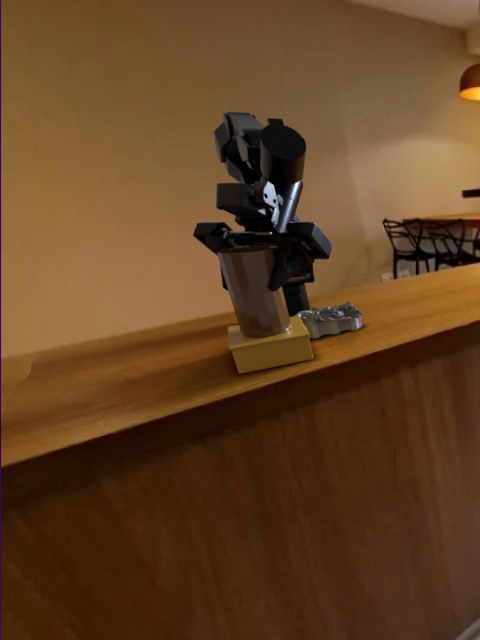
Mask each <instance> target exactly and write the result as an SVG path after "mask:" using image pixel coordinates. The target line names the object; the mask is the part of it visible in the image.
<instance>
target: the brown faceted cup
mask: <svg viewBox="0 0 480 640" xmlns="http://www.w3.org/2000/svg"><path fill="white" fill-rule="evenodd" d="M217 255H218V256H217ZM217 255H216V256H217V257H218V261H219V265H220V264H221V268H222V271H223V274H224V278H225V281H226V284H227V287H228V291H227V292H228V293H229V297H230V300H231V303H232V307H233V310H234V313H235V316H236V320H237V324H238V325H239V327H240V330H241V333H242V335H243V336H244V337H249V338H261V337H269V336H274V335H278V334H281V333H284V332H286V331H288V330H290V329H291V322H290V318H289V314H288V310H287V306H286V302H285V298H284V294H283V290H282V286H281V287H280V288H279V289H278V290H277V291H275V292H273V291H272V290H271V289H270V288H269V284H270V278H271V274H272V270H273V267H274V263H275V258H274V254H273V250H272V247H270V246H245V247H235V248H228V249H223V250H220V251H217ZM221 268H220V269H221Z"/></svg>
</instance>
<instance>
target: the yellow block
mask: <svg viewBox="0 0 480 640" xmlns="http://www.w3.org/2000/svg"><path fill="white" fill-rule="evenodd" d="M289 318H290V322H291V329H290V330H288V331H286V332H284V333H281V334H278V335H274V336H269V337H261V338H249V337H244V336H243V335H242V333H241V330H240V327H239V324H238V325H237V324H236V325H230V326H227V339H228V340H227V341H228V351H229V352H231V355H232V357H233V361H234V364H235V366H236V370H237V373H238V375H240V374H245V373H251V372H255V371H260V370H265V369H270V368H275V367H280V366H286V365H290V364H296V363H301V362H305V361H306V362H307V361H310V360H314V355H313V349H312V347H311V343H310V338H309V337H310V335H309V333H308V331H307V329H306V328H305V326H304V324H303V322H302V321H301V319H300V317H299V316H294V317H289Z"/></svg>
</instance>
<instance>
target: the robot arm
mask: <svg viewBox="0 0 480 640" xmlns="http://www.w3.org/2000/svg"><path fill="white" fill-rule="evenodd" d="M222 118H223V121H222V122H221V124H219V125H218V126H217V128H216V129H215V130H214V131H213V136H214V137H213V138H214V147H215V151H216V154H217V155H216V156H217V157H218V160H219V162H220V163H221V164H222V163H223V165H224V167H225V170H226V172H227V174H228V176H229V177H231V178H233V179H234V180H236V181H237V182H218V183H216V194H215V195H216V199H215V201H216V202H215V208H216V209H218V210H220V211H224V212H227V213H228V214H231V215H233V216H235V217H234V219H233V220H234V222H235V223H236V224H237V225H238V226H239V227H243V228H244V230H233V229H232V227H230V226H229V225H228V224H227V223H226V222H224V221H203V222H197V223H196V225H195V228H194V231H193V234H192V237H194V238H195V239H196V240H197V241H198V242H200V243H201V244H202V245H203V246H204V247H205V248H207V249H208V250H209V251H211V252H212V253H213V254H214V255H216V257H218V255H217V251H220V250H223V249H228V248H235V247H245V246H270V247H272V250H273V254H274V258H275V263H274V267H273V270H272V274H271V278H270V284H269V288H270V289H271V290H272V291H273V292H275V291H277V290H278V289H279V288H280V287H281V286H282V290H283V294H284V298H285V302H286V306H287V310H288V314H289V317H294V316H295V315H296V314H297V313H299V312H300V311H315V310H314V309H313V307H312V306H311V305H310V301H309V296H308V291H307V287H306V284H313V283H315V281H316V279H315V274H314V263H315V262H316V260H329V259H330V256H331V254H332V253H331V252H332V250H333V249H332V248H333V247H332V243H331V241H330V240H329V239H328V237H327V236H326V235H325V233H324V232H323V231H322V229H321V228H320V227H319V226H318V225H317V223H316V222H315V221H300V219H299V217H298V216H297V215H296V213H297V209H298V205H299V202H300V199H301V196H302V192H303V189H304V182H303V178H304V172H305V171H304V170H305V163H306V156H307V155H306V154H307V143H306V140H305V137H303V136H302V135H301V134H300V133H299V132H298V131H297V130H295V129H294V128H292V127H291V126H288V125H285V123H284V120H283V118H273V117H267V118H266V126H264V125H263V124H262V123H261V122H260V121H258V119H257V117H256V114H252V113H251V112H244V111H243V112H242V111H226V112H222ZM219 266H220V267H219V268H220V277H221V284H222V285H221V286H222V288H223V289H224V290H225V291H227V292H229V291H228V287H227V284H226V281H225V278H224V274H223V271H222V268H221V264H220V263H219Z"/></svg>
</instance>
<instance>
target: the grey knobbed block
mask: <svg viewBox="0 0 480 640" xmlns="http://www.w3.org/2000/svg"><path fill="white" fill-rule="evenodd" d="M295 316H299V317H300V319H301V321H302V322H303V324H304V326H305V328H306V329H307V331H308V333H309V335H310V337H309V339H320V337H321V336H324V335H337V334H338V335H339V334H340V333H341V332H343V331H352V332H353V331H358V330H359V328H362V326H363V323H362V318H361V316H363V312H361V311H360V310H359V309H358V308H357V307H356V306H355V305H353V304H352V303H351V302H350V301H346V303H344V304H339V305H334V306H333V307H330V306H326V307H324V308H318V309H316V310H314V311H300V312H299V313H297V314H296V315H295Z"/></svg>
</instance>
